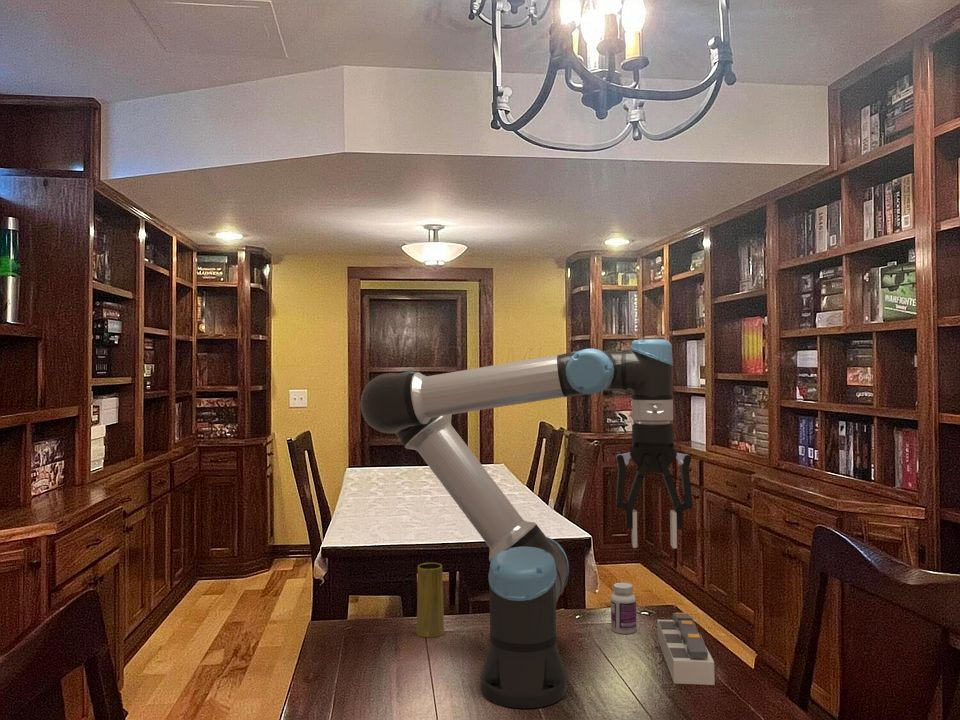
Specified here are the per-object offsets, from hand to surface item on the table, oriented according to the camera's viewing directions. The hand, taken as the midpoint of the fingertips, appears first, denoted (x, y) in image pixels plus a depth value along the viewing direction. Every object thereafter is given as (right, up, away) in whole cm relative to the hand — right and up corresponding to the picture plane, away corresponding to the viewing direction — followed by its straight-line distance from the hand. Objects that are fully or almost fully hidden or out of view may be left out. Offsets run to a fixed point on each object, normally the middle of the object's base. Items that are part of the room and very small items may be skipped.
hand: (654, 546), depth 134 cm
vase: (-43, -24, +20) cm, 53 cm away
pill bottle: (-2, -23, +20) cm, 31 cm away
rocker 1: (+8, -17, +11) cm, 22 cm away
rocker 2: (+8, -17, +4) cm, 19 cm away
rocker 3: (+7, -17, -3) cm, 19 cm away
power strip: (+7, -23, +4) cm, 24 cm away
